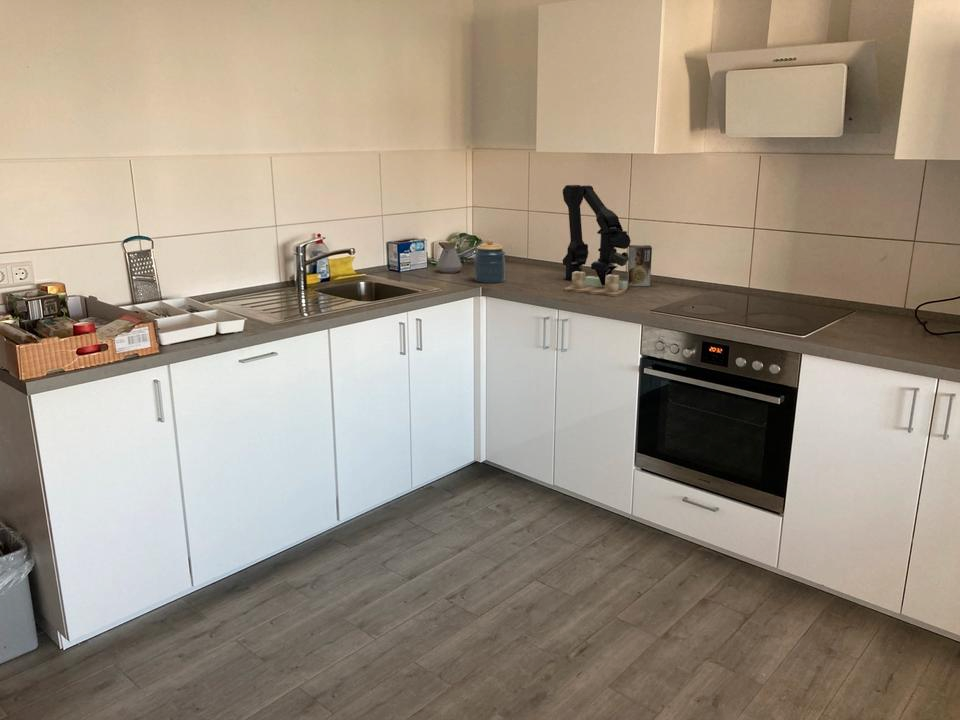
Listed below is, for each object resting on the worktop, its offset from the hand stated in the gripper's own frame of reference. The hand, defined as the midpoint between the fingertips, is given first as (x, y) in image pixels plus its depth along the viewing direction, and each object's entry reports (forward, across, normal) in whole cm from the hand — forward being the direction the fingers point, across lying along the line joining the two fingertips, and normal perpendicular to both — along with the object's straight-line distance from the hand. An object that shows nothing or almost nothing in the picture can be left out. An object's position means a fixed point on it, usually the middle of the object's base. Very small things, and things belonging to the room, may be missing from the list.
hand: (605, 284), depth 312 cm
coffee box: (+1, +12, -10) cm, 15 cm away
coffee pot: (+1, -8, +72) cm, 72 cm away
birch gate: (+1, -12, 0) cm, 12 cm away
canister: (+1, -12, +47) cm, 49 cm away
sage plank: (+1, 0, 0) cm, 1 cm away
